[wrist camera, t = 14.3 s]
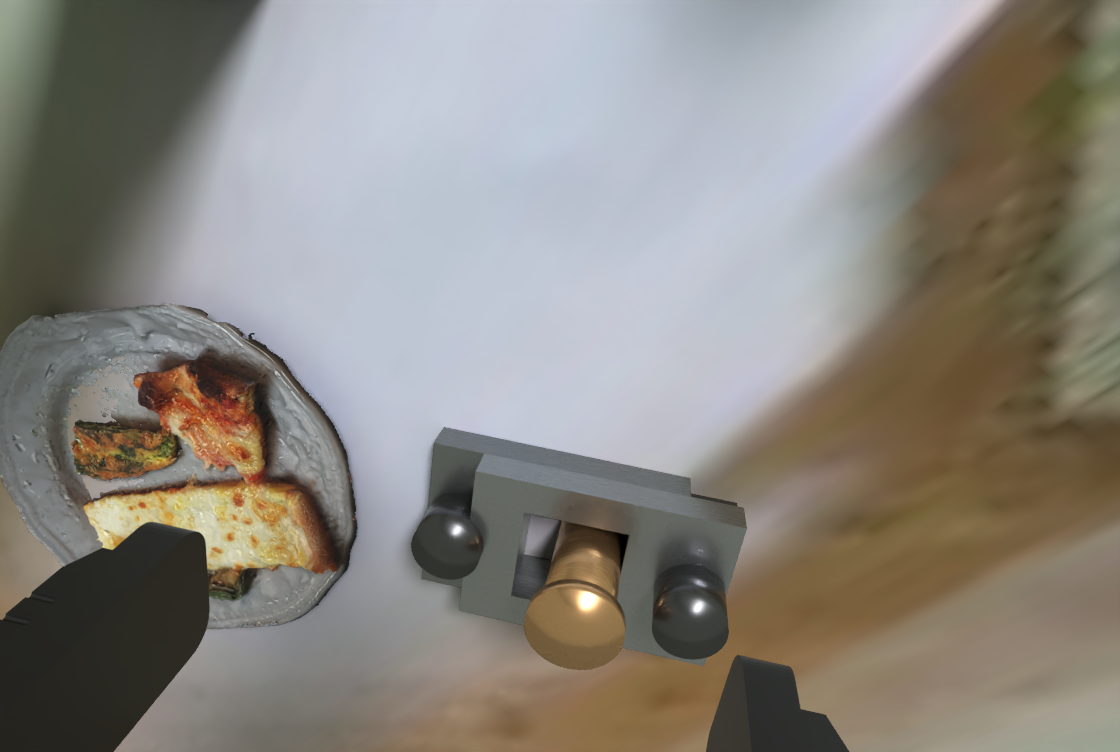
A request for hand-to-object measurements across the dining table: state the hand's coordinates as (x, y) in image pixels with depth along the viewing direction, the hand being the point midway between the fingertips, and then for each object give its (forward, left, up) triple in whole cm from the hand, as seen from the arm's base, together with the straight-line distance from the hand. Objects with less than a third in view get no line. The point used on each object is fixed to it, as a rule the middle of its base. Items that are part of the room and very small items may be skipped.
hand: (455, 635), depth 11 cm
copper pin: (+2, -19, -30) cm, 36 cm away
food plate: (-25, -21, -31) cm, 45 cm away
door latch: (+1, -19, -30) cm, 36 cm away
